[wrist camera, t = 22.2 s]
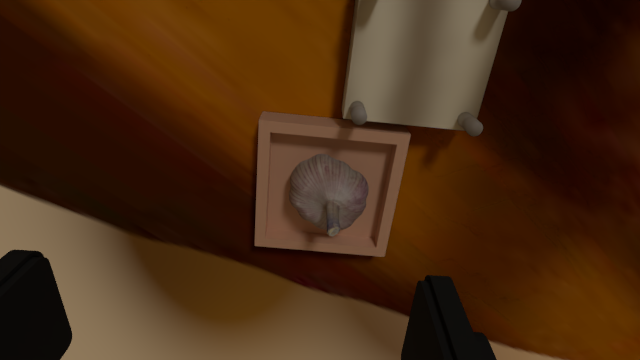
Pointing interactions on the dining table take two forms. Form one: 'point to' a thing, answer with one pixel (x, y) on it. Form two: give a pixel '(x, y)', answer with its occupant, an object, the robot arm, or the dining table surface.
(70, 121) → the dining table surface
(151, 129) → the dining table surface
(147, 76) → the dining table surface
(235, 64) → the dining table surface
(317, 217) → the garlic bulb
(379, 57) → the peg rest
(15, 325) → the robot arm
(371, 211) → the terracotta dish
